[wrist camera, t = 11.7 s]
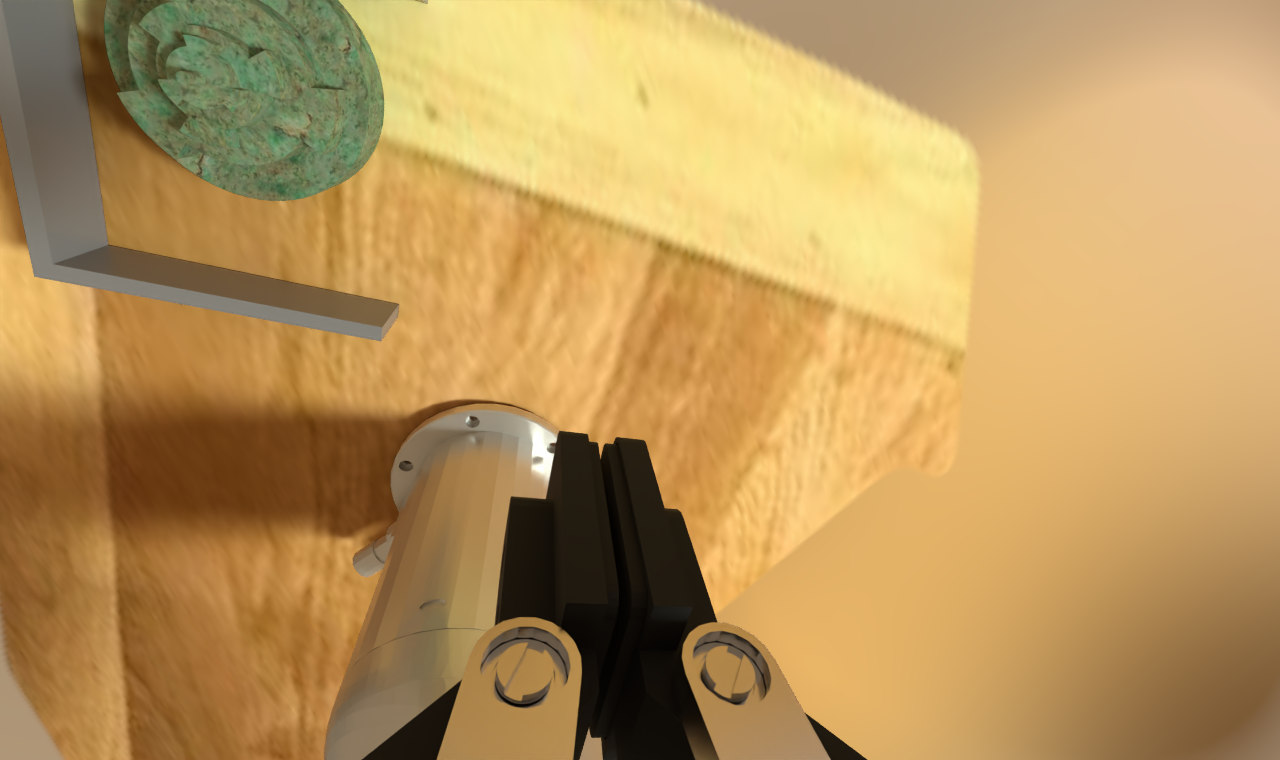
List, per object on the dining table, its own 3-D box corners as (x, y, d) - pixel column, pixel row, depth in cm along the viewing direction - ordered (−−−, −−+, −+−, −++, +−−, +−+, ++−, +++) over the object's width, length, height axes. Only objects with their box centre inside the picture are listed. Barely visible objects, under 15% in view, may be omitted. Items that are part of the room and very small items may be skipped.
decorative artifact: (90, 12, 23) (259, 224, 28) (-76, -17, 17) (177, 261, 22) (287, -97, 23) (426, 140, 27) (188, -168, 16) (389, 154, 21)
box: (429, -17, 24) (411, -33, 21) (397, 316, 31) (380, 341, 28) (25, -159, 21) (-68, -203, 17) (92, 256, 27) (34, 276, 24)
